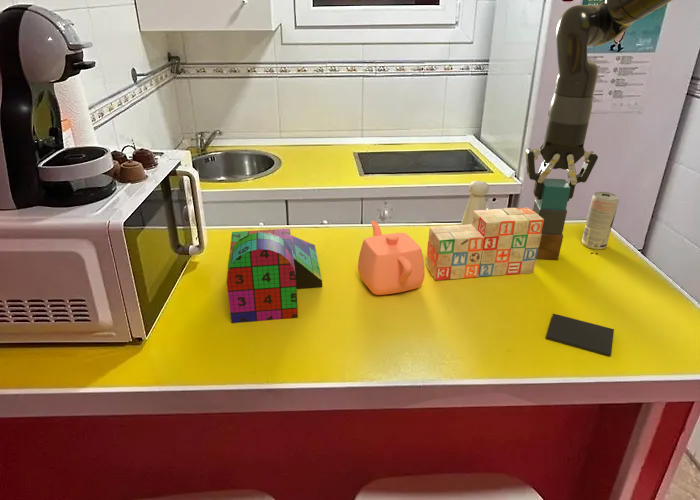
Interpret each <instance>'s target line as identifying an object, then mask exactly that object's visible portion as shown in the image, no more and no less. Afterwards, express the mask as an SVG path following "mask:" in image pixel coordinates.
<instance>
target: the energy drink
mask: <svg viewBox="0 0 700 500" xmlns="http://www.w3.org/2000/svg"><path fill="white" fill-rule="evenodd" d="M618 206H619V196H618V195H617V194H615V193H612V192H608V191H596V192H594V193H593V195H592V196H591V200H590V204H589V209H588V212H587V216H586V221H585V226H584V230H583V234H582V236H581V243H582V246H584V247H586V248H588V249H590V250H591V249H592V250H597V251H598V250H599V251H600V250H604V249H606V248H607V247H608V243H609V239H610V235H611V232H612V227H613V225H614V220H615V217H616V213H617V209H618Z"/></svg>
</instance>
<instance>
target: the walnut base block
mask: <svg viewBox="0 0 700 500" xmlns="http://www.w3.org/2000/svg"><path fill="white" fill-rule="evenodd" d="M563 239H564V234H563V233H562V235H558V234H542V235H541V240H540V244H539V247H538V252H537V257H536V260H547V261H559V257H560V253H561V249H562V244H563Z"/></svg>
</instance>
